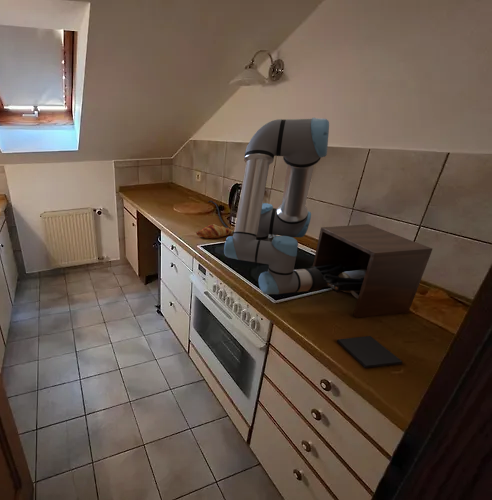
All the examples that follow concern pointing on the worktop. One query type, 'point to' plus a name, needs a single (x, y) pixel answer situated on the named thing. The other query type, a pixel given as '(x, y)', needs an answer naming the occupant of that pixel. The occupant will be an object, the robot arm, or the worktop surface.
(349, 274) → the ceramic mug
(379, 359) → the mat
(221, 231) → the croissant
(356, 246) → the cupboard
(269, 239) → the egg carton
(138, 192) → the worktop surface
